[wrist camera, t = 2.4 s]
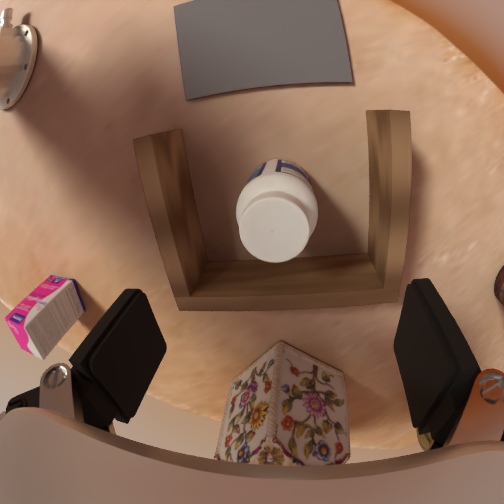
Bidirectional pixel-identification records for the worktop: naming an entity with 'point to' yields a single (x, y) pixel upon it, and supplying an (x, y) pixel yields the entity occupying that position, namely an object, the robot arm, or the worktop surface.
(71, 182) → the worktop surface
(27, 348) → the supplement box
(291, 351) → the decorative jar
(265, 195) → the pill bottle
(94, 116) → the worktop surface
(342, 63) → the mat
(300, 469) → the robot arm
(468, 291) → the worktop surface
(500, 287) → the can
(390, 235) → the open box
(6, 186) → the worktop surface
